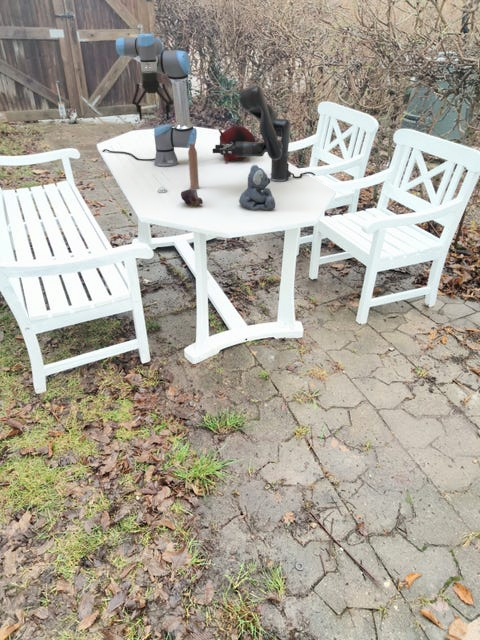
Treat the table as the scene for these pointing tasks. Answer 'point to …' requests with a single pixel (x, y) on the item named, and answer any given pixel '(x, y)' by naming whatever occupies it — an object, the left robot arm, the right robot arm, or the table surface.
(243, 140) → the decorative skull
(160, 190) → the cap
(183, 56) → the left robot arm
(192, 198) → the rock
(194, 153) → the bottle
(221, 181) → the table surface
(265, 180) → the koala plush
